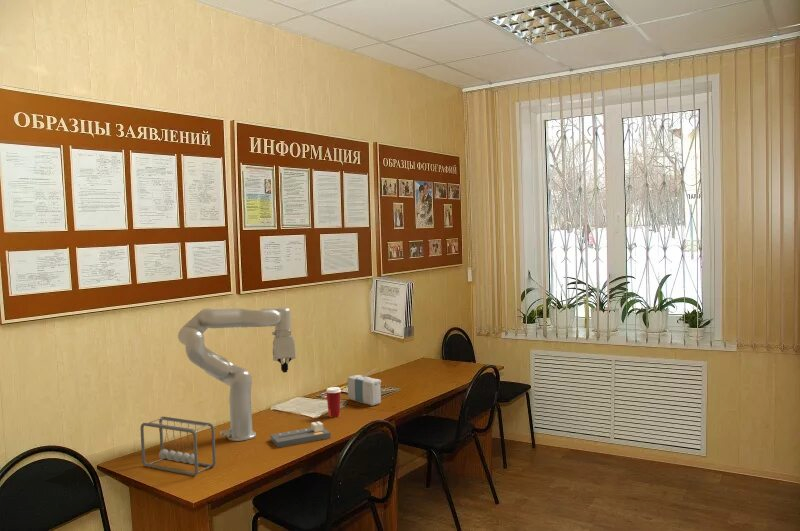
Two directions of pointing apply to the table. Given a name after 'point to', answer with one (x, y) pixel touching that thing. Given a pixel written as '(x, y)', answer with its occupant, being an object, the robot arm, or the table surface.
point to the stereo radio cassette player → (364, 389)
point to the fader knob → (317, 426)
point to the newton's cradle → (179, 455)
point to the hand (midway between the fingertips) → (284, 371)
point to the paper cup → (333, 401)
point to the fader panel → (298, 437)
